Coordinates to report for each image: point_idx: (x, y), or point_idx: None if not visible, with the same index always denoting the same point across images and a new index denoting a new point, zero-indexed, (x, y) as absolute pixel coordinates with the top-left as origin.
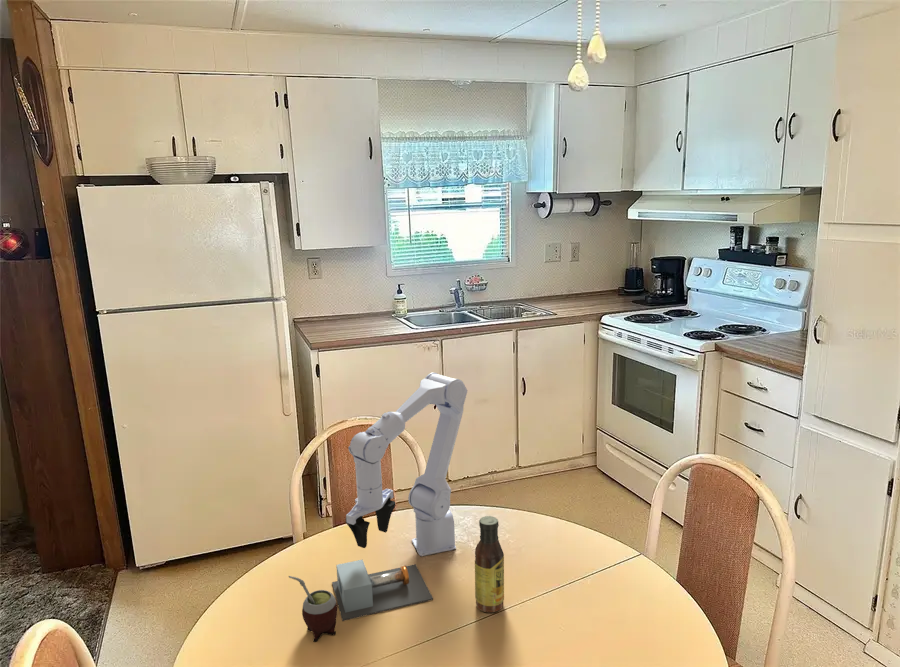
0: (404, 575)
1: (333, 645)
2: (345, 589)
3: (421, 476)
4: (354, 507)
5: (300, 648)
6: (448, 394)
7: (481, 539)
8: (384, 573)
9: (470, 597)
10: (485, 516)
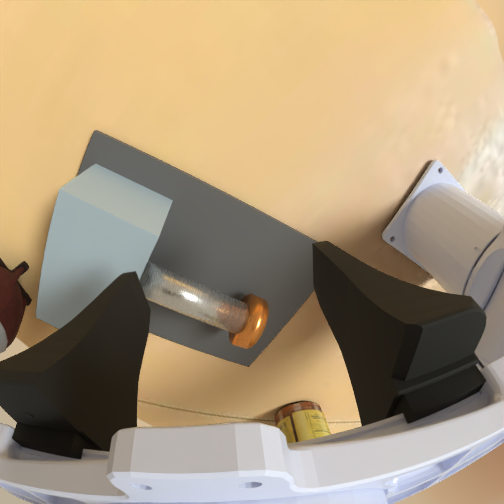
0: (232, 343)
1: (22, 318)
2: (40, 318)
3: None
4: (50, 487)
5: None
6: None
7: None
8: (246, 222)
9: (298, 390)
10: None
